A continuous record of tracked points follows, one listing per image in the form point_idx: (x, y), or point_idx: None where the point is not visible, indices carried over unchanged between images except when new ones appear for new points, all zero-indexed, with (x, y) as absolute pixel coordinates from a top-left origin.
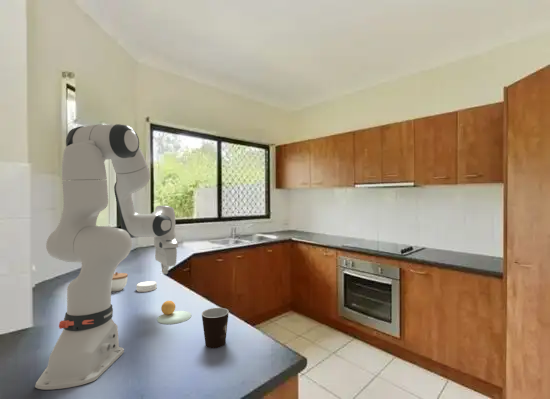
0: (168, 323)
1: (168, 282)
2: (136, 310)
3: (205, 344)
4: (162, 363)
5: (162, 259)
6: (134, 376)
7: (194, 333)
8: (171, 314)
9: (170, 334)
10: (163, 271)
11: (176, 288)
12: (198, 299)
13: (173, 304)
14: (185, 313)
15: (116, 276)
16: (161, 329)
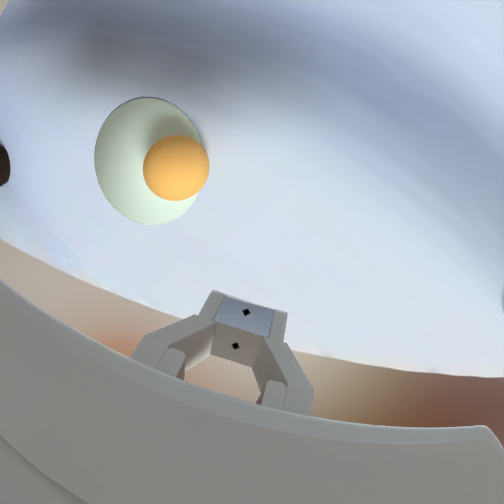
0: (106, 120)
1: (498, 366)
2: (366, 94)
3: (2, 147)
4: (4, 64)
5: (69, 403)
6: (9, 25)
7: (35, 153)
8: None
9: (56, 101)
10: (218, 307)
11: (440, 357)
12: None
13: (147, 185)
14: (146, 209)
15: None
16: (91, 88)
